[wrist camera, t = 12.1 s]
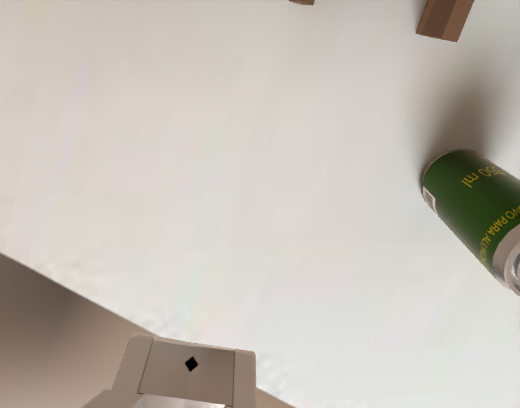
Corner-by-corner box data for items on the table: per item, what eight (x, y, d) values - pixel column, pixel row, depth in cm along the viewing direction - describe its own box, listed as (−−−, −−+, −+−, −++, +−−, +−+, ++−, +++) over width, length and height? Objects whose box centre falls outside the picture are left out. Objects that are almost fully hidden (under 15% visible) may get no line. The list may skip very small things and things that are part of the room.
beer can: (435, 219, 34) (523, 318, 24) (405, 173, 32) (486, 258, 22) (494, 183, 33) (616, 270, 22) (467, 132, 31) (585, 201, 20)
